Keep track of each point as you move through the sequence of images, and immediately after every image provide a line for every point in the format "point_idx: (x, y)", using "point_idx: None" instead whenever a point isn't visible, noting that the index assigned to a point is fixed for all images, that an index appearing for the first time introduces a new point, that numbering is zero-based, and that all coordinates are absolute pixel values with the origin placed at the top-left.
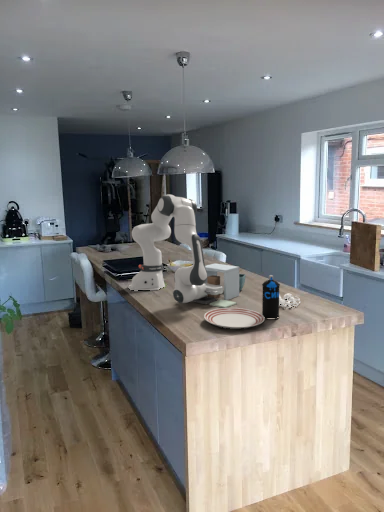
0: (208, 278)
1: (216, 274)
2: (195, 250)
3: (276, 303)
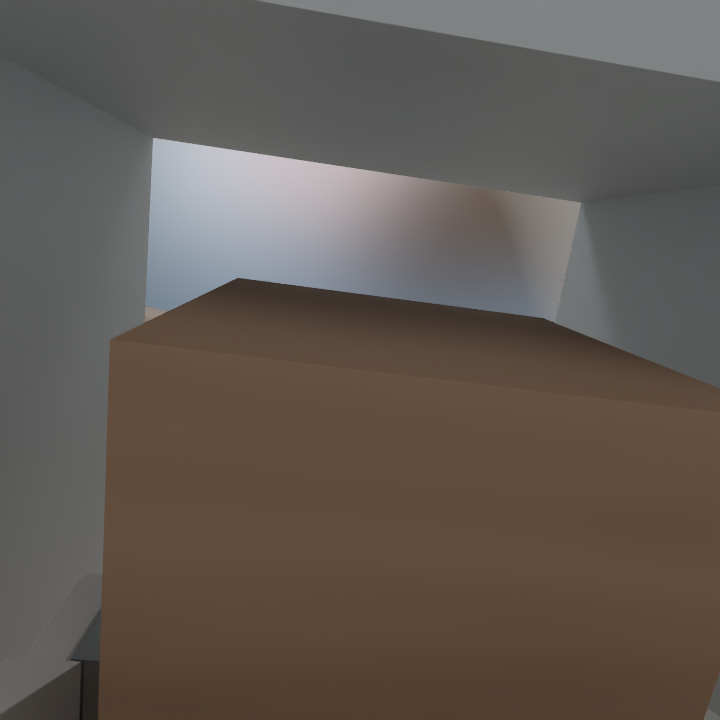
0: (230, 471)
1: (138, 292)
2: None
3: None
